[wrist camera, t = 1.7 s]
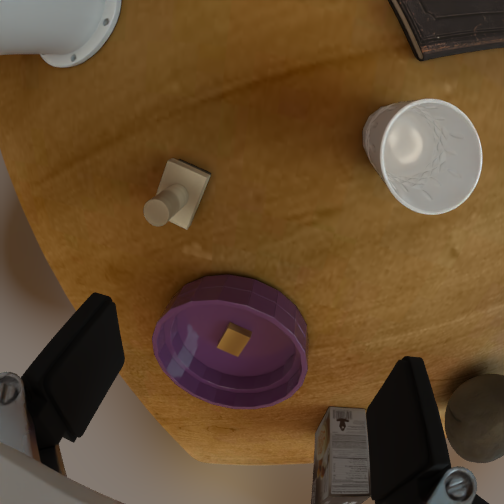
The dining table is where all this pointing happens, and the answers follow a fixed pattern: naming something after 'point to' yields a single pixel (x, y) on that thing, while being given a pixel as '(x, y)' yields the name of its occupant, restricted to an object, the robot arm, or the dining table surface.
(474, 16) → the hardcover book
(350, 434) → the coffee box
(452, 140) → the white cup
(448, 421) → the dark grey rounded lump
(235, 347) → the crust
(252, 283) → the bowl
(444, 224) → the dining table surface
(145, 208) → the beige stamp
